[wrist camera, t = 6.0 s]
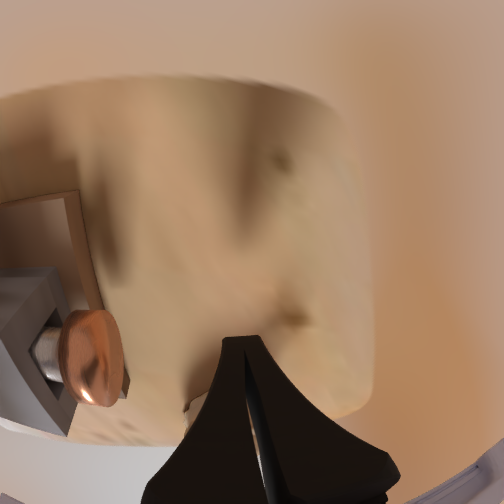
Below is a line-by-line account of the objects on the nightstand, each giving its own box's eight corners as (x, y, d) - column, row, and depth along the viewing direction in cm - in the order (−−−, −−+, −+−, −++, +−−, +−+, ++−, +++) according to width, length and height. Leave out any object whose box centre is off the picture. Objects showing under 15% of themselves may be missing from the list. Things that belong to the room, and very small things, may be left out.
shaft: (-14, 343, 11) (-41, 383, 8) (-39, 288, 10) (-75, 326, 6) (129, 360, 12) (112, 425, 9) (107, 291, 11) (73, 356, 7)
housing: (14, 366, 15) (-18, 427, 9) (-45, 214, 10) (-112, 258, 4) (130, 381, 16) (113, 468, 10) (78, 189, 11) (-14, 246, 5)
